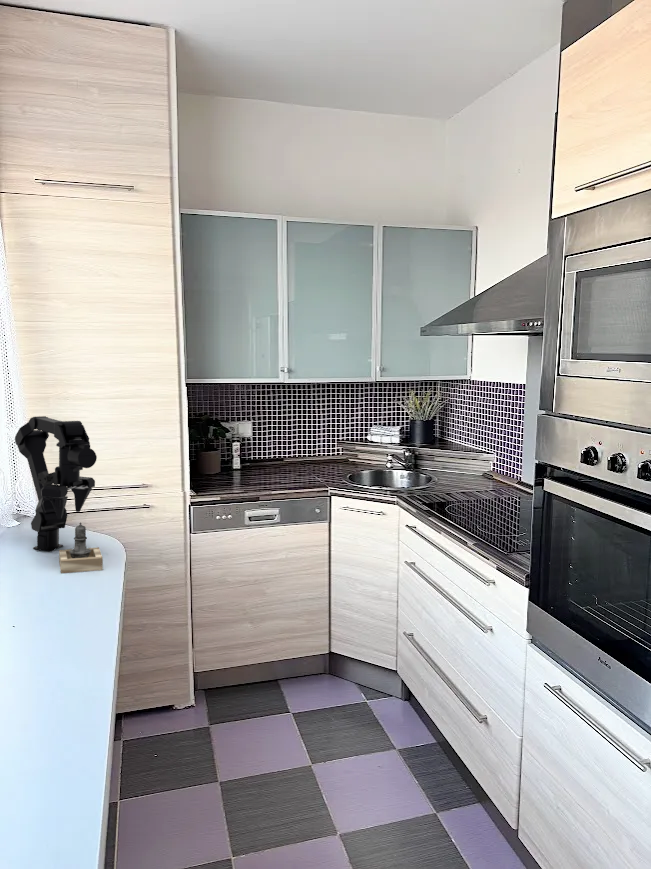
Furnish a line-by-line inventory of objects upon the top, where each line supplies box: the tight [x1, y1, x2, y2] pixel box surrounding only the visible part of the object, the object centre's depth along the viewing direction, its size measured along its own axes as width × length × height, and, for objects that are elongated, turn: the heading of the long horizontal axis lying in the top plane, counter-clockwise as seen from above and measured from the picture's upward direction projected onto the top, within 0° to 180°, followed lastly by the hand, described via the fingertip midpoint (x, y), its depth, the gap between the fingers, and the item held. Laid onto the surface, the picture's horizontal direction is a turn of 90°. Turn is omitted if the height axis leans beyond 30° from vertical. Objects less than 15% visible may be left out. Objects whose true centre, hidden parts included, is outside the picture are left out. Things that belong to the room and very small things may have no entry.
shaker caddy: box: [58, 547, 104, 574], centre depth 190 cm, size 11×11×4 cm
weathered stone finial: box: [69, 522, 91, 558], centre depth 190 cm, size 6×6×12 cm
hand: (68, 515), depth 196 cm, fingers open, 9 cm apart
